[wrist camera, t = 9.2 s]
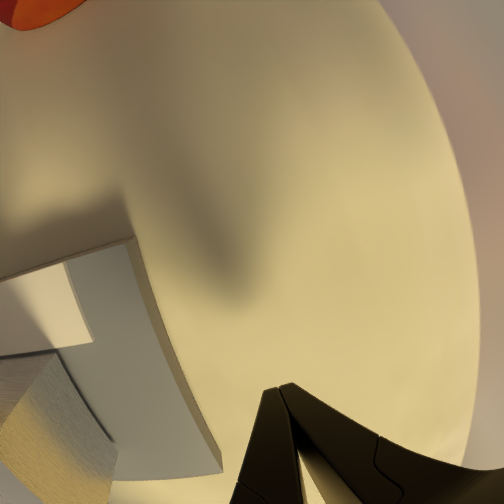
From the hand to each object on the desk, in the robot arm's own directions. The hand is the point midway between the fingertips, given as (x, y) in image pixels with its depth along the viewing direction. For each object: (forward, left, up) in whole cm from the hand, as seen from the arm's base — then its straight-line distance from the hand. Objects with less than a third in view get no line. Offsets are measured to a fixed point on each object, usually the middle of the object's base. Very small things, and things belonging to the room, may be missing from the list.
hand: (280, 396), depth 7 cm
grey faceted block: (+1, +9, -1) cm, 9 cm away
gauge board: (0, +18, -2) cm, 18 cm away
